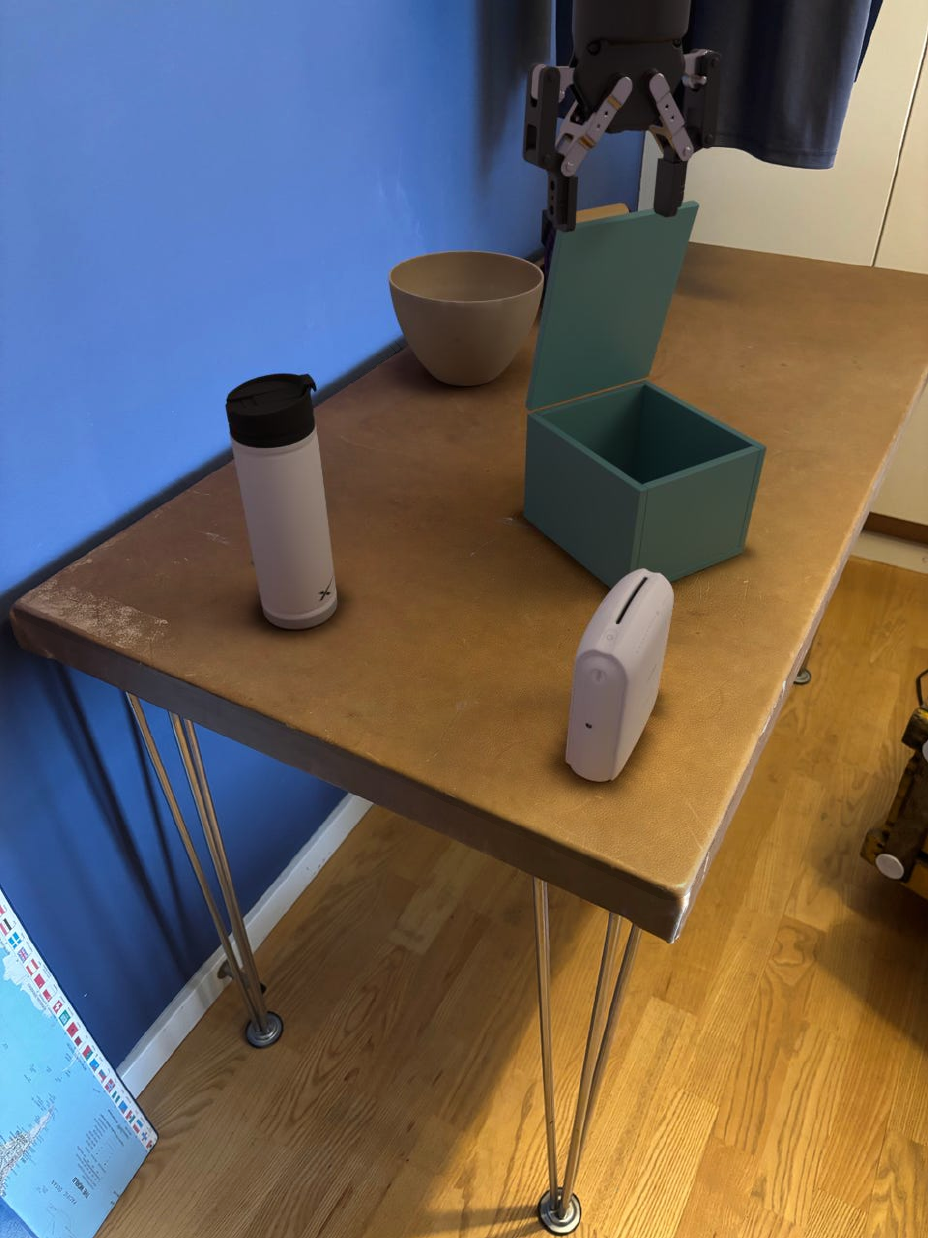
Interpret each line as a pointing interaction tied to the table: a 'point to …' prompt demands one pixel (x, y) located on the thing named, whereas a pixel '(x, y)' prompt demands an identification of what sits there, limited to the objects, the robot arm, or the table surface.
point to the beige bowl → (465, 311)
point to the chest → (640, 482)
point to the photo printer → (618, 674)
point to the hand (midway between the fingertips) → (615, 221)
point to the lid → (606, 300)
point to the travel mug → (283, 497)
